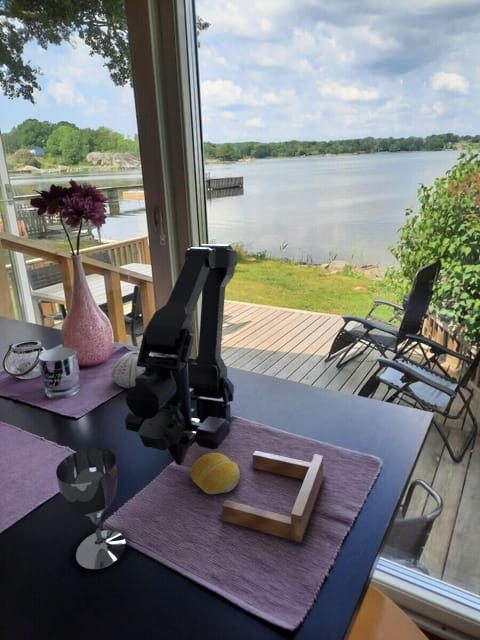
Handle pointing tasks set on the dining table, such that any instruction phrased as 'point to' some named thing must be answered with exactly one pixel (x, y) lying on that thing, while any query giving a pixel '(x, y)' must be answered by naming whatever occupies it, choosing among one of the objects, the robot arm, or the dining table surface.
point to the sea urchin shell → (127, 370)
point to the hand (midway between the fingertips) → (180, 463)
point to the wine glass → (92, 502)
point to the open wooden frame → (303, 506)
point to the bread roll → (215, 473)
